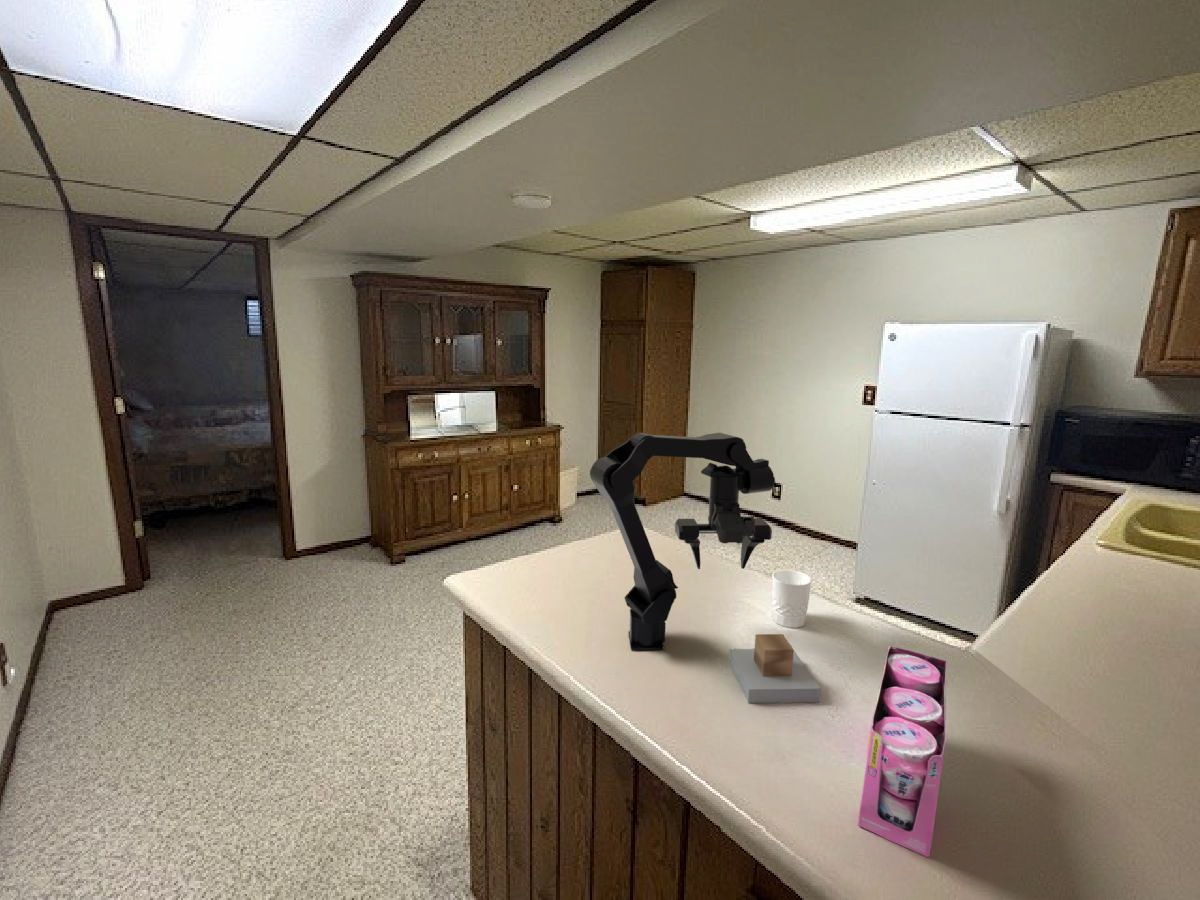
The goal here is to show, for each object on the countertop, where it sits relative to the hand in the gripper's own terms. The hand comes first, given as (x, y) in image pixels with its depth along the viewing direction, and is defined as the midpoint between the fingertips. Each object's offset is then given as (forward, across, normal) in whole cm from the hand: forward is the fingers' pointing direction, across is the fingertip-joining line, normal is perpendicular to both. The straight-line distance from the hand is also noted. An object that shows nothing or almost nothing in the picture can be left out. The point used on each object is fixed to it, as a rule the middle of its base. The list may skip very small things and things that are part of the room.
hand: (720, 568), depth 110 cm
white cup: (+13, +16, +2) cm, 21 cm away
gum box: (+13, +15, -41) cm, 46 cm away
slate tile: (+13, +5, -19) cm, 24 cm away
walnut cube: (+10, +5, -19) cm, 22 cm away
